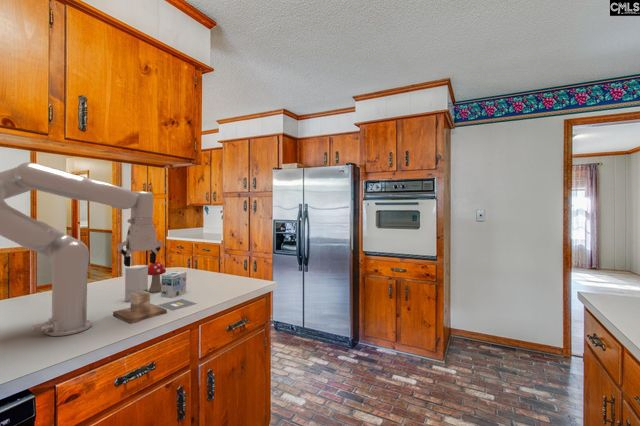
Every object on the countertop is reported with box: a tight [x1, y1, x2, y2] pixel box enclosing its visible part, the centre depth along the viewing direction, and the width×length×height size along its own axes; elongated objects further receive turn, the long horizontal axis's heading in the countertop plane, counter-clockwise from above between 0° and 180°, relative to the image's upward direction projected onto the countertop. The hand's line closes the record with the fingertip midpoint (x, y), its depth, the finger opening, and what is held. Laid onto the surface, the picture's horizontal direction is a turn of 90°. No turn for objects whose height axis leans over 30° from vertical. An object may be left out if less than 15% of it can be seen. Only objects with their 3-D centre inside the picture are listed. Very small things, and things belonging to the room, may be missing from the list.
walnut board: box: [112, 303, 168, 324], centre depth 124 cm, size 14×14×2 cm
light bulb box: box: [160, 270, 187, 299], centre depth 153 cm, size 11×7×11 cm, turn 168°
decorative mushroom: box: [148, 261, 167, 294], centre depth 158 cm, size 10×9×15 cm
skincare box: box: [124, 264, 149, 303], centre depth 143 cm, size 8×7×16 cm
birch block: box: [130, 291, 151, 313], centre depth 124 cm, size 5×5×7 cm
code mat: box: [157, 298, 198, 312], centre depth 137 cm, size 12×12×1 cm
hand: (140, 264), depth 123 cm, fingers open, 9 cm apart
